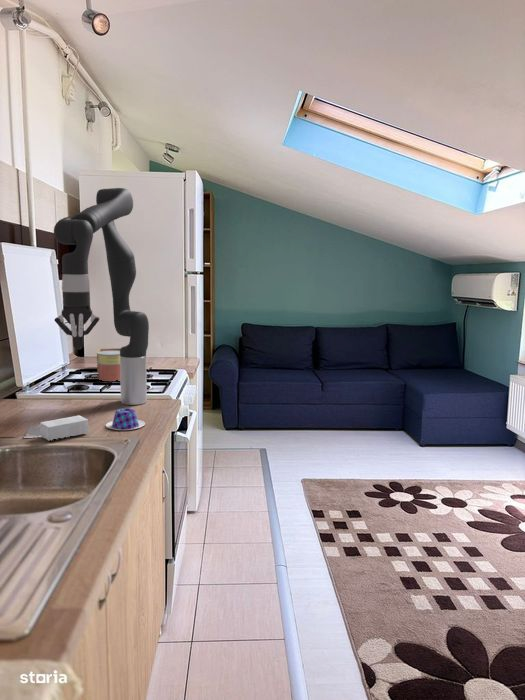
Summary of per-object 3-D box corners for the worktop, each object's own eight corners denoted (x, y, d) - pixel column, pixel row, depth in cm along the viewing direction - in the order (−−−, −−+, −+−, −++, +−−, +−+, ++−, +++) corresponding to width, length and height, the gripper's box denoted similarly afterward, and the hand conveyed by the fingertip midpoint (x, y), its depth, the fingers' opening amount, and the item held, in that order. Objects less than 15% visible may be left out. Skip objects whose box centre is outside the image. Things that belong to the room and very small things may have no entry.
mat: (29, 428, 166) (29, 427, 166) (77, 426, 169) (77, 425, 169) (23, 438, 156) (23, 437, 156) (74, 436, 160) (74, 435, 160)
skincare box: (80, 428, 166) (40, 436, 158) (79, 414, 165) (39, 421, 157) (89, 433, 162) (48, 441, 154) (88, 419, 161) (47, 426, 153)
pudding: (124, 419, 180) (124, 403, 179) (153, 424, 174) (153, 408, 173) (97, 428, 169) (96, 411, 168) (126, 434, 163) (126, 417, 163)
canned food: (128, 377, 242) (128, 350, 241) (119, 383, 231) (119, 355, 230) (104, 376, 244) (103, 350, 242) (94, 381, 232) (93, 354, 231)
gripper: (100, 289, 164) (102, 346, 167) (53, 289, 161) (56, 347, 164) (99, 291, 157) (101, 350, 160) (50, 290, 154) (52, 351, 157)
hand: (78, 348), depth 162 cm, fingers closed
